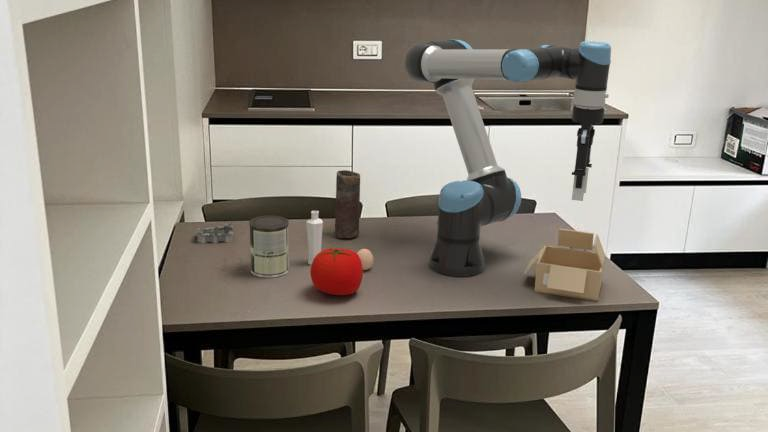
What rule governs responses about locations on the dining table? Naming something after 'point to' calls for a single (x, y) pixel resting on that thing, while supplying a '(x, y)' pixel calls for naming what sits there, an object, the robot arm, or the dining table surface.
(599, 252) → the right flap
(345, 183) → the candle
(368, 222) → the dining table surface
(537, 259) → the left flap
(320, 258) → the tomato
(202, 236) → the egg carton
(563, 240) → the back flap
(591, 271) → the carton
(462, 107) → the robot arm
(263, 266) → the coffee can
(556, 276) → the front flap
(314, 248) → the perfume bottle
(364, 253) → the egg
